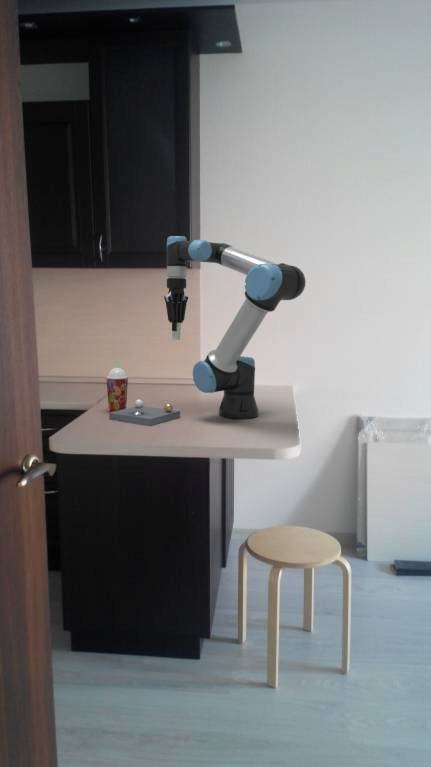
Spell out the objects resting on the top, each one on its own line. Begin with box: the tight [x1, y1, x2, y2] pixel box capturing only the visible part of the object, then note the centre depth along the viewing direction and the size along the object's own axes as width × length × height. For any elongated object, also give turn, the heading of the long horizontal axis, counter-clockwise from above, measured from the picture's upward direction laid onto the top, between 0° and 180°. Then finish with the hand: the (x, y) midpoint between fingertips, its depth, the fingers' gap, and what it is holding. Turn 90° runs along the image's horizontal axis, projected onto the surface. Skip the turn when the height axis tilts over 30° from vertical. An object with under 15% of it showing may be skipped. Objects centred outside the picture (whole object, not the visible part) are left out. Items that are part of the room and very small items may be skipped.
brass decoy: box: [163, 403, 174, 412], centre depth 218 cm, size 3×3×3 cm
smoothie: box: [105, 360, 129, 413], centre depth 229 cm, size 8×8×20 cm
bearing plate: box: [108, 405, 181, 427], centre depth 218 cm, size 19×18×2 cm
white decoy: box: [134, 399, 144, 408], centre depth 225 cm, size 3×3×3 cm
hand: (176, 339), depth 228 cm, fingers closed
